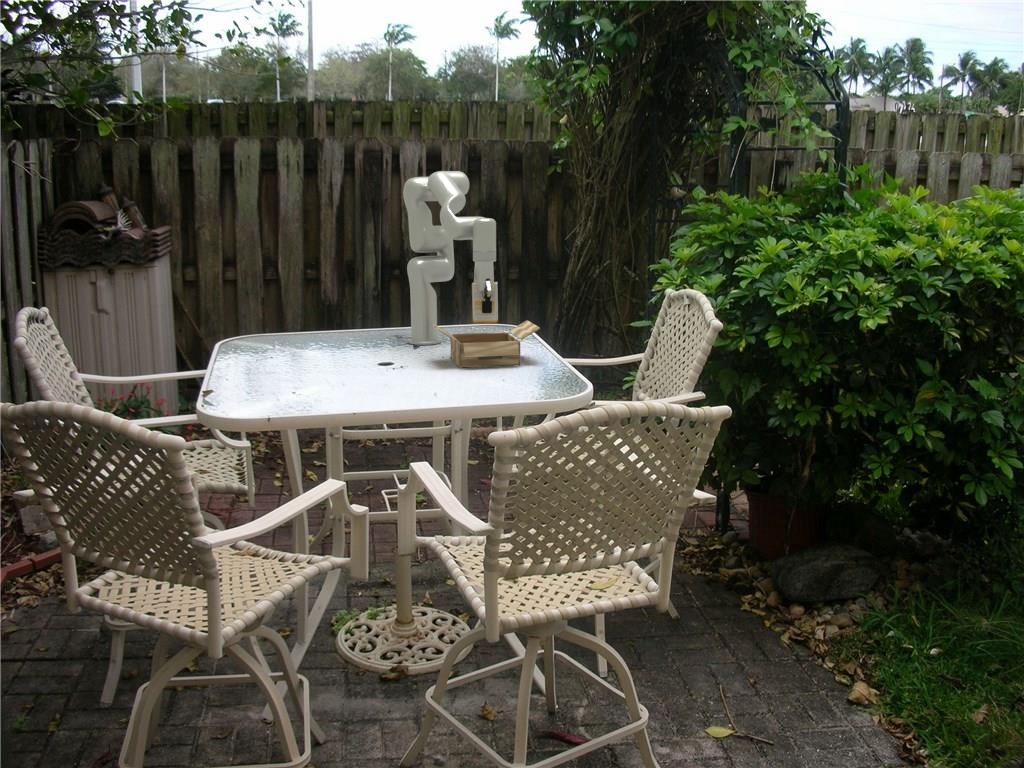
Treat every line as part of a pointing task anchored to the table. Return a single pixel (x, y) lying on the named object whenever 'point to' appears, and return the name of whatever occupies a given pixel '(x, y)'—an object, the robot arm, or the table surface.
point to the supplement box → (477, 305)
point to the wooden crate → (461, 361)
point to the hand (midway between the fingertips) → (484, 311)
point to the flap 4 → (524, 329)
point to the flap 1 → (444, 332)
